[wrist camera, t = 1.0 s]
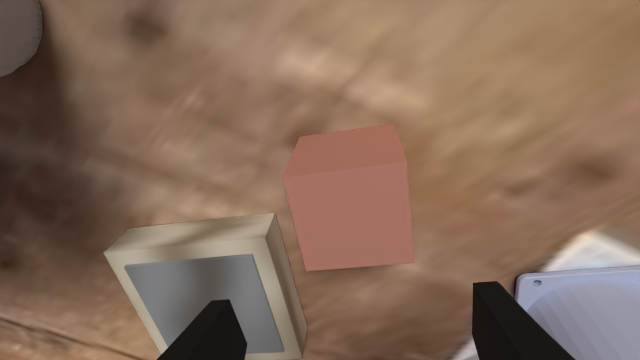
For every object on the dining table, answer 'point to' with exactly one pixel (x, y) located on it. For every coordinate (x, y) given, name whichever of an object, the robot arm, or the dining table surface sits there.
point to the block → (351, 199)
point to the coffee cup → (18, 33)
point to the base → (213, 280)
